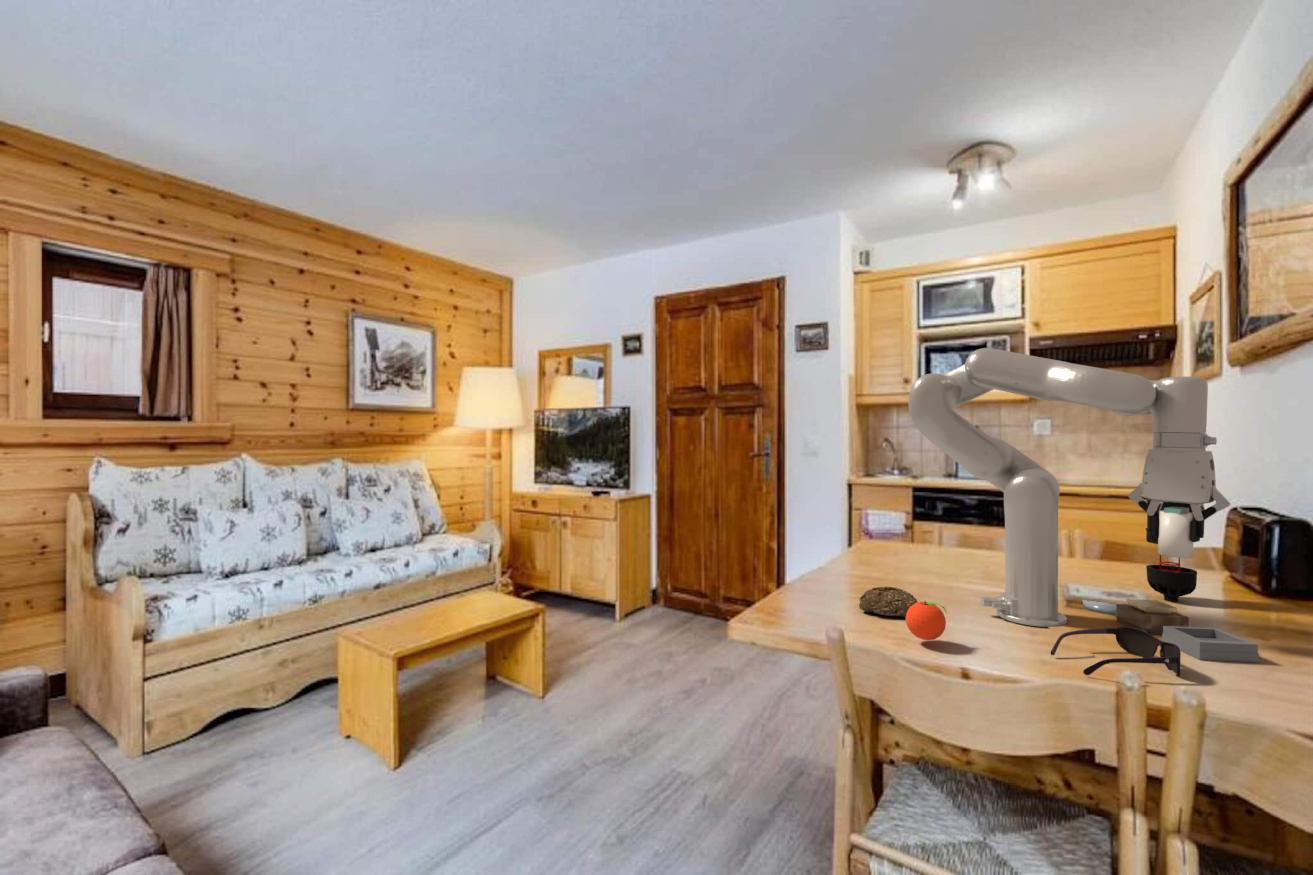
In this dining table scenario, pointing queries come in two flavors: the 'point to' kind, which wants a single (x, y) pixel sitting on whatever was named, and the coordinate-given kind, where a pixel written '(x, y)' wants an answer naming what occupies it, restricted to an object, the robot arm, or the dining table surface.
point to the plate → (1100, 607)
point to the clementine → (925, 620)
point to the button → (1151, 606)
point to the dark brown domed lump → (887, 601)
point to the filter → (1170, 569)
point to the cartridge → (1175, 532)
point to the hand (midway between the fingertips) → (1175, 537)
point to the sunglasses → (1133, 648)
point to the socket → (1211, 644)
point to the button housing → (1148, 619)
